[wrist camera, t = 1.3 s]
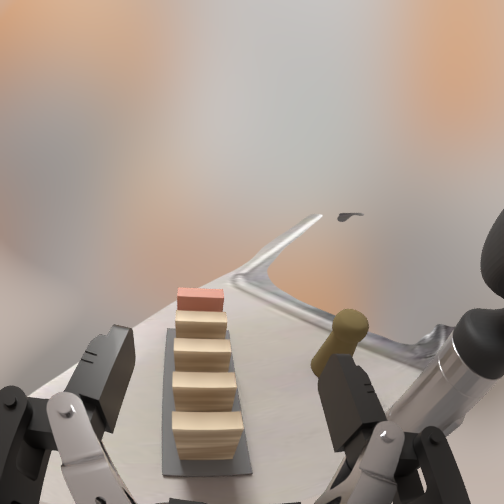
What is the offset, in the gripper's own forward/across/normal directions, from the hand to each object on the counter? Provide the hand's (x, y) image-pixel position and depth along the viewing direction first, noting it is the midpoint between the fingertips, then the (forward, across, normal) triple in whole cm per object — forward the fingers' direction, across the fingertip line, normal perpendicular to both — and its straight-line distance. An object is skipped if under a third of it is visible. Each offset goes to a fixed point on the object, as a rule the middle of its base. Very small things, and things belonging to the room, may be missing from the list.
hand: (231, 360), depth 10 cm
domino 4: (+10, 0, +23) cm, 25 cm away
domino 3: (+15, +1, +22) cm, 27 cm away
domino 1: (+24, +2, +22) cm, 32 cm away
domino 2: (+19, +2, +22) cm, 29 cm away
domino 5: (+6, 0, +23) cm, 24 cm away
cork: (+21, -18, +22) cm, 35 cm away
